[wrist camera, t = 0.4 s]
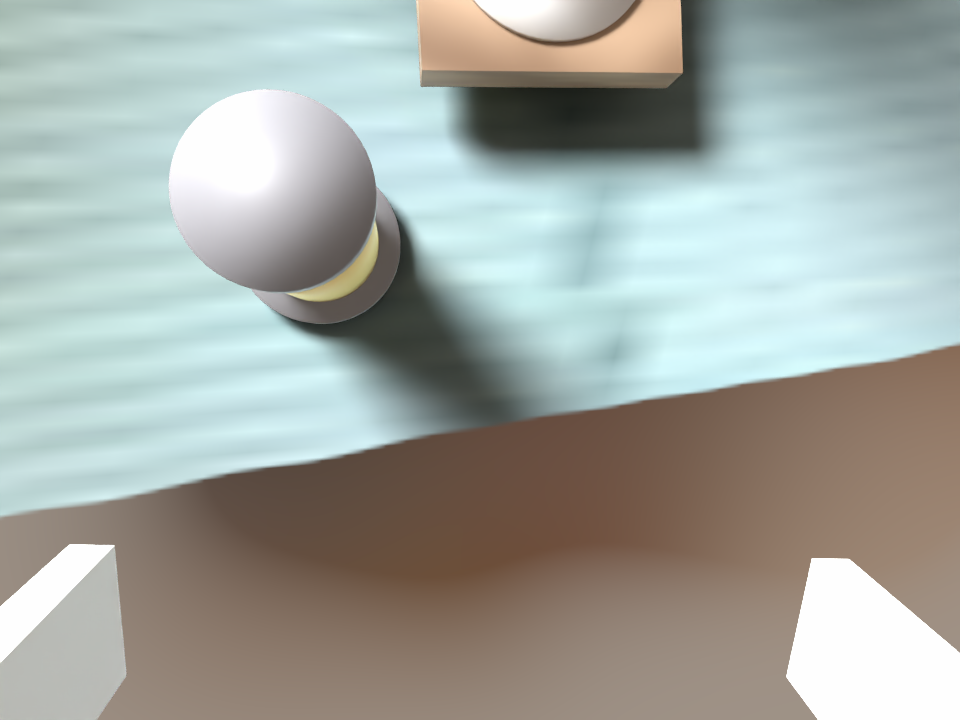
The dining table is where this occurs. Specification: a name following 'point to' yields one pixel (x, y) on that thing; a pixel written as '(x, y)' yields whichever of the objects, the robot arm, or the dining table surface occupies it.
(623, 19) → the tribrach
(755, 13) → the dining table surface
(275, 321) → the dining table surface
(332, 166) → the yellow thread spool
